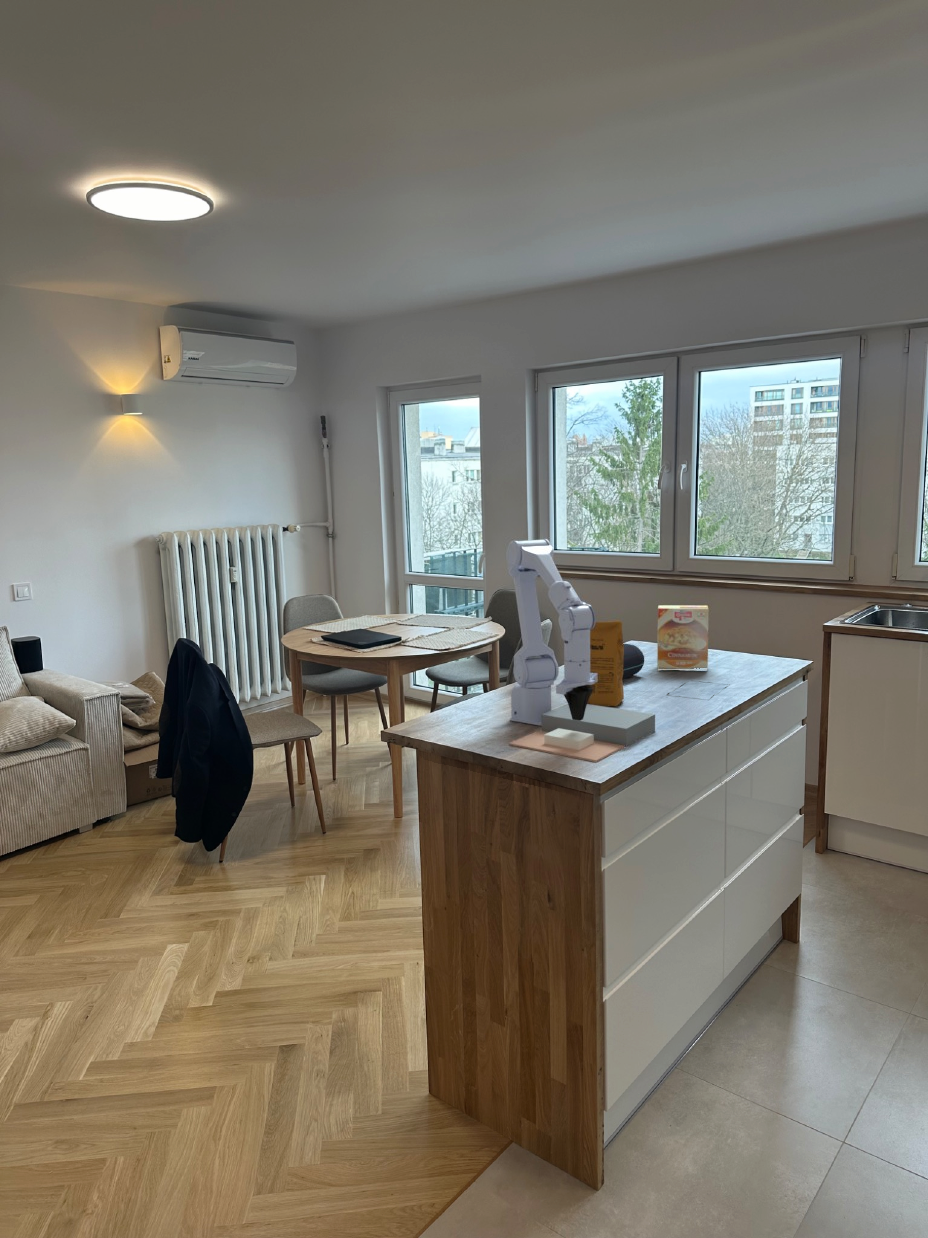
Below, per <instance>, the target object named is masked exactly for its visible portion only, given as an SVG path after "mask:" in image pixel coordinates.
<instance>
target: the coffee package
mask: <svg viewBox="0 0 928 1238" xmlns="http://www.w3.org/2000/svg"><path fill="white" fill-rule="evenodd" d="M623 637H624V636H623V623H622V620H612V621H596V620H595V626H594V628H593V629H592V630H590V673H596V674H598V682H595V683H594V684H592V685H587V687H592V688H593V692H592V694H591V695H590V697H589V700H588V702H587V704H590V705H597V706H603V707H618V705H619V704H620V703H621V702H622V701H624V698H625V696H624V695H625V694H624V692H625V691H624V683H623V679H622V677H623V656H624V646H623V644H624V641H623V640H624V639H623Z"/></svg>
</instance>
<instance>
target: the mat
mask: <svg viewBox="0 0 928 1238" xmlns="http://www.w3.org/2000/svg"><path fill="white" fill-rule="evenodd" d="M547 733H549V732H545V731H542V730H537V731H535V732H533V733H532V732H531V733H530V734H528V735H525V736H523V737H520V738H518V739H515V740H514V741H511V742H509V743H508V745H509V746H512V745H513V746H514V747H517V746H519V747H518V748H523V749H528V750H534V751H538V752H544V753H546V754H547V753H549V754H552V755H559V756H562V757H563V756H564V757H569V758H573V759H579V760H583V761H589V762H592V763H593V762H594V763H597V762H600V761H602V760H604V759H605V758H607V757H609V756H611V755H613V754H615V753H616V752H618V751H620V750H623V749H624V748H625V746H622V745H617V744H611V743H606V742H600V741H595V740H594V743H593V744H591V745H589V746H587V747H585V748H583V749H581V750H576V749H571V748H566V747H560V746H555V745H550V744H545V743H544V735H545V734H547Z"/></svg>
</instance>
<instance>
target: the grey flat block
mask: <svg viewBox="0 0 928 1238" xmlns="http://www.w3.org/2000/svg"><path fill="white" fill-rule="evenodd" d="M540 727H541V731H545V732H551V731H554V730H556V729H558V728H560V729H566V730H571V731H577V732H583V733H589V734H594V740H595V741H600V742H606V743H611V744H617V745H622V746H624V747H628V746H630V745H632V744H634V743H636V742H638V741H639V740H641V739H643V738H645V737H648V735H651V734H653V733H654V732H656V714H655V713H648V712H642V711H634V710H628V709H622V708H615V707H611V706H597V705H592V704H587V705H586V709H585V714H584V718H583V720H580V721H579V720H573V719H572V716H571V712H570V708H569V705H568V703H566V704H564V705H562V706H558V707H557V708H554V709H551V711H549V712H546V713H544V714H541V726H540Z"/></svg>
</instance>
